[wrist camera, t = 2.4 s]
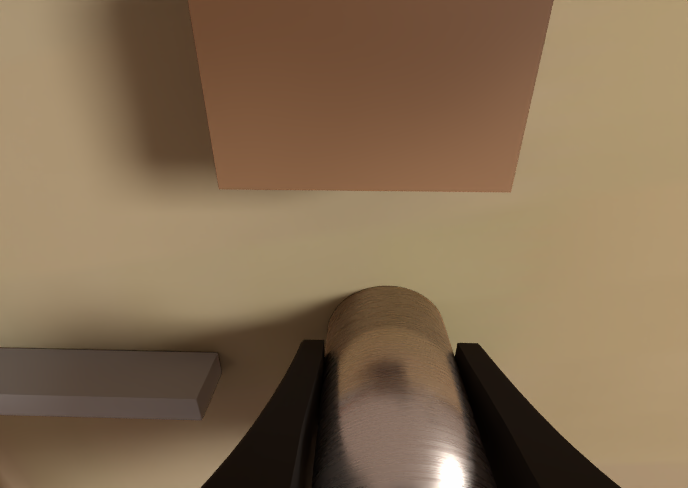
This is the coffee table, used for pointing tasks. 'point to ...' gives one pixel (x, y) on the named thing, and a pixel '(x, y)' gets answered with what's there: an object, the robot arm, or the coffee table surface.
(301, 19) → the walnut block
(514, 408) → the robot arm
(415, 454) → the silver cylinder
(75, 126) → the coffee table surface
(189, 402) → the parts pen
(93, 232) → the coffee table surface
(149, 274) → the coffee table surface
